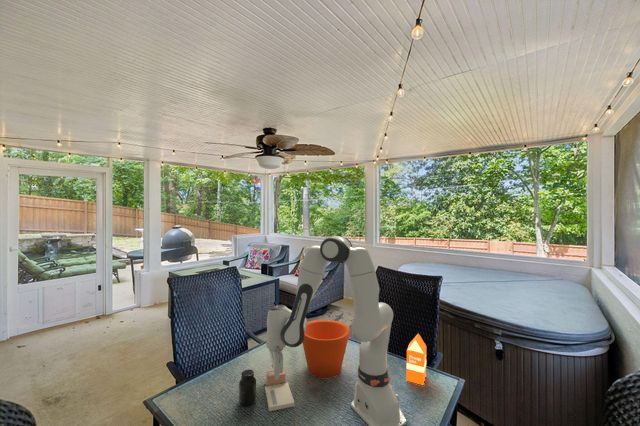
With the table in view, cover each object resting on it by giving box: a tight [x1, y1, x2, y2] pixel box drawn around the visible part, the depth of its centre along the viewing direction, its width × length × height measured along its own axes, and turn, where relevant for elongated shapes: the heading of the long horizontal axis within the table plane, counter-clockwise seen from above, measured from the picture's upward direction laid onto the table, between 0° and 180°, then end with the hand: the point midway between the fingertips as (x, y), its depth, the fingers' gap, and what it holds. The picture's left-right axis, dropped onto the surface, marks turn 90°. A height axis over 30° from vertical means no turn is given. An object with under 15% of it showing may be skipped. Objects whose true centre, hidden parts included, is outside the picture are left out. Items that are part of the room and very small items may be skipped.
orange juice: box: [406, 333, 427, 386], centre depth 130 cm, size 8×9×20 cm
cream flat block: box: [264, 381, 295, 412], centre depth 115 cm, size 14×10×2 cm
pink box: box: [265, 368, 286, 386], centre depth 124 cm, size 4×8×5 cm, turn 108°
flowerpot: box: [302, 319, 351, 380], centre depth 137 cm, size 25×25×20 cm
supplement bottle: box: [238, 369, 257, 408], centre depth 112 cm, size 7×7×12 cm
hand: (275, 372), depth 125 cm, fingers open, 8 cm apart
